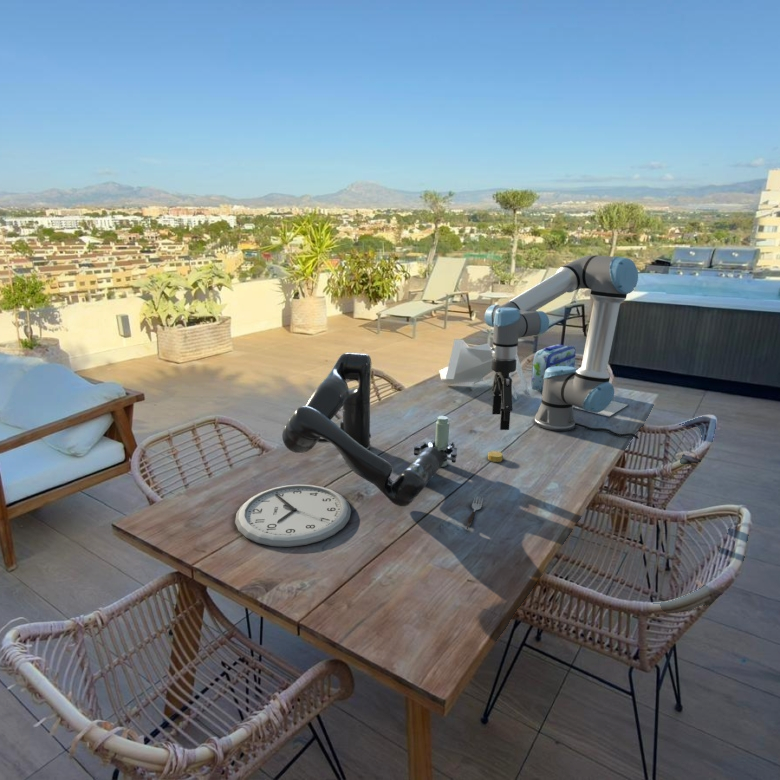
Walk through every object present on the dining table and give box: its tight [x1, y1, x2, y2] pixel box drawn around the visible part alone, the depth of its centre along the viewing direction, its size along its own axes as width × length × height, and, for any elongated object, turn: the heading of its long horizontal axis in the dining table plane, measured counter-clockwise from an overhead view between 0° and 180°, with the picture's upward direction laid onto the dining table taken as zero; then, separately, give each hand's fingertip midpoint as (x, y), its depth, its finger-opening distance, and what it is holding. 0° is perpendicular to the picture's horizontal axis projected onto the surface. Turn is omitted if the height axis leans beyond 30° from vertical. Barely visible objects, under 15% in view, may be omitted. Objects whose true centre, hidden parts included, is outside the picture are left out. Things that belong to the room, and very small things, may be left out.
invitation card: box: [573, 400, 629, 418], centre depth 226 cm, size 21×1×15 cm
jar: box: [434, 415, 450, 468], centre depth 167 cm, size 4×4×16 cm
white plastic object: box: [438, 338, 531, 400], centre depth 245 cm, size 37×45×31 cm
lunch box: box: [530, 344, 577, 392], centre depth 247 cm, size 26×11×21 cm, turn 134°
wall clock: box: [234, 484, 352, 548], centre depth 138 cm, size 30×2×30 cm
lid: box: [487, 450, 504, 463], centre depth 173 cm, size 5×5×2 cm
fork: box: [466, 495, 484, 530], centre depth 138 cm, size 3×16×2 cm, turn 160°
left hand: (443, 443), depth 169 cm, fingers open, 5 cm apart
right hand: (500, 421), depth 170 cm, fingers open, 13 cm apart
